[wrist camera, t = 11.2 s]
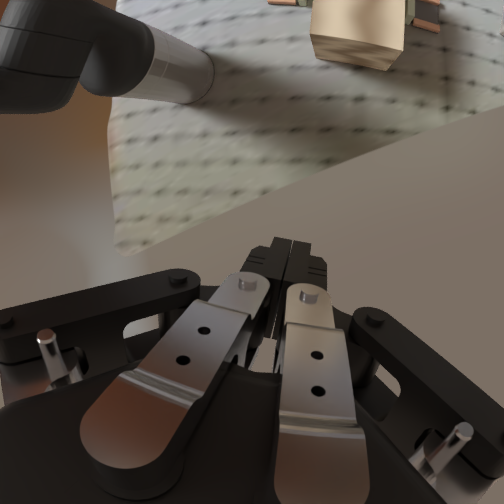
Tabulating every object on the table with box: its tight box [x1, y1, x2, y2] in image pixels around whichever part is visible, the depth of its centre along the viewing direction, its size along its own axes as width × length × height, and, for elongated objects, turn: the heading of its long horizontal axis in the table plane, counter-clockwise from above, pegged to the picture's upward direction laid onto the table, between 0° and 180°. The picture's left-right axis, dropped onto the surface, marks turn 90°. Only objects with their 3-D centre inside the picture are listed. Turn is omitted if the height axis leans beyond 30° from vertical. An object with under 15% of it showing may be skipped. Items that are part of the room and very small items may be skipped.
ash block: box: [310, 0, 405, 71], centre depth 29 cm, size 10×14×12 cm
